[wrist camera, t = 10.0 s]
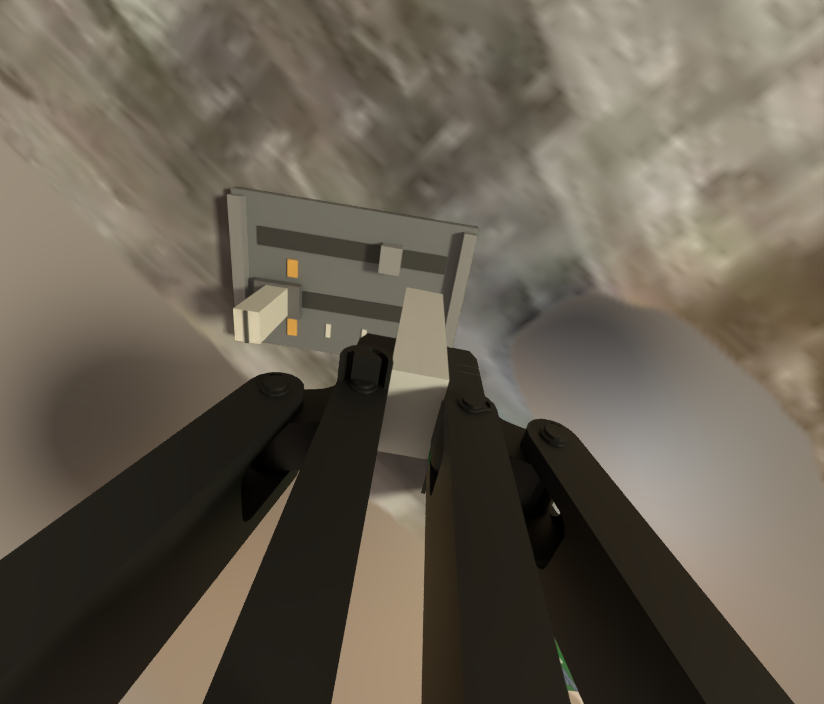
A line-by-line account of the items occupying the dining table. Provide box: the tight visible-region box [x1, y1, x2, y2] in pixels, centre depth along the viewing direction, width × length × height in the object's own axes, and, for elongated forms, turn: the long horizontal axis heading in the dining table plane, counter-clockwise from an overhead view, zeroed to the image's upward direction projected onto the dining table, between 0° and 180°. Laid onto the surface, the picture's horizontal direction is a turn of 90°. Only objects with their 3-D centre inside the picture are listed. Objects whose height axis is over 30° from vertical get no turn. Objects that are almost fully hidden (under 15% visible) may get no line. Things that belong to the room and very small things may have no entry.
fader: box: [233, 278, 302, 344], centre depth 36 cm, size 4×5×8 cm
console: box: [227, 187, 479, 354], centre depth 39 cm, size 16×24×4 cm, turn 81°
